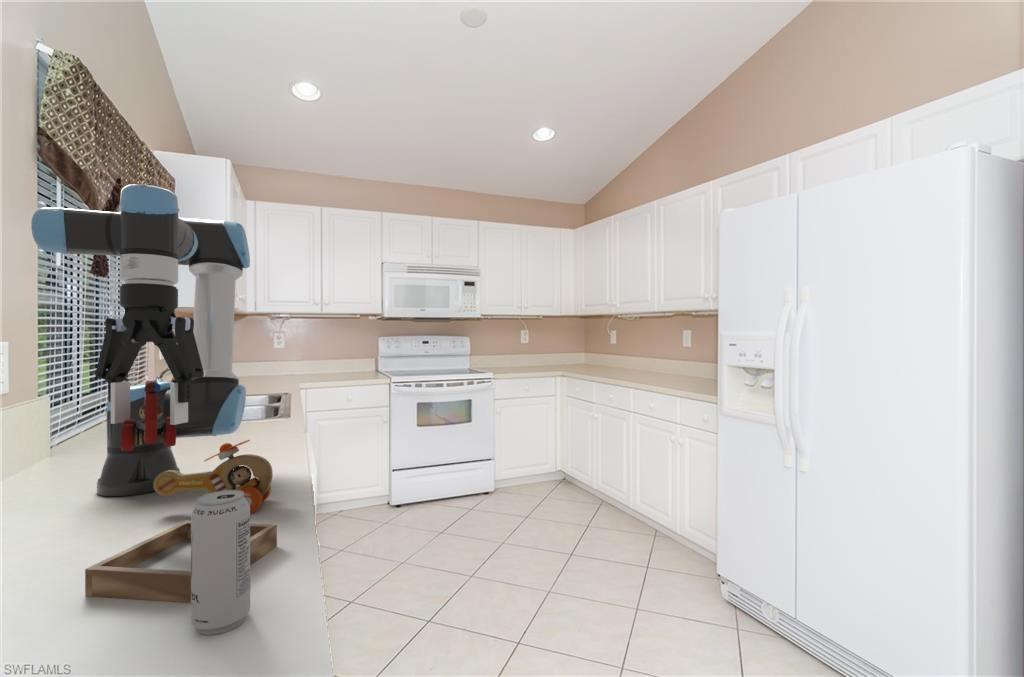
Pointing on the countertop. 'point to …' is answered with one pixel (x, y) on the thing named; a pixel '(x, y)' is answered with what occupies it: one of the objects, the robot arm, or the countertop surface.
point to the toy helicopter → (223, 477)
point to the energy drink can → (220, 561)
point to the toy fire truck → (148, 423)
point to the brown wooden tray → (161, 565)
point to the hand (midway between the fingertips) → (149, 422)
